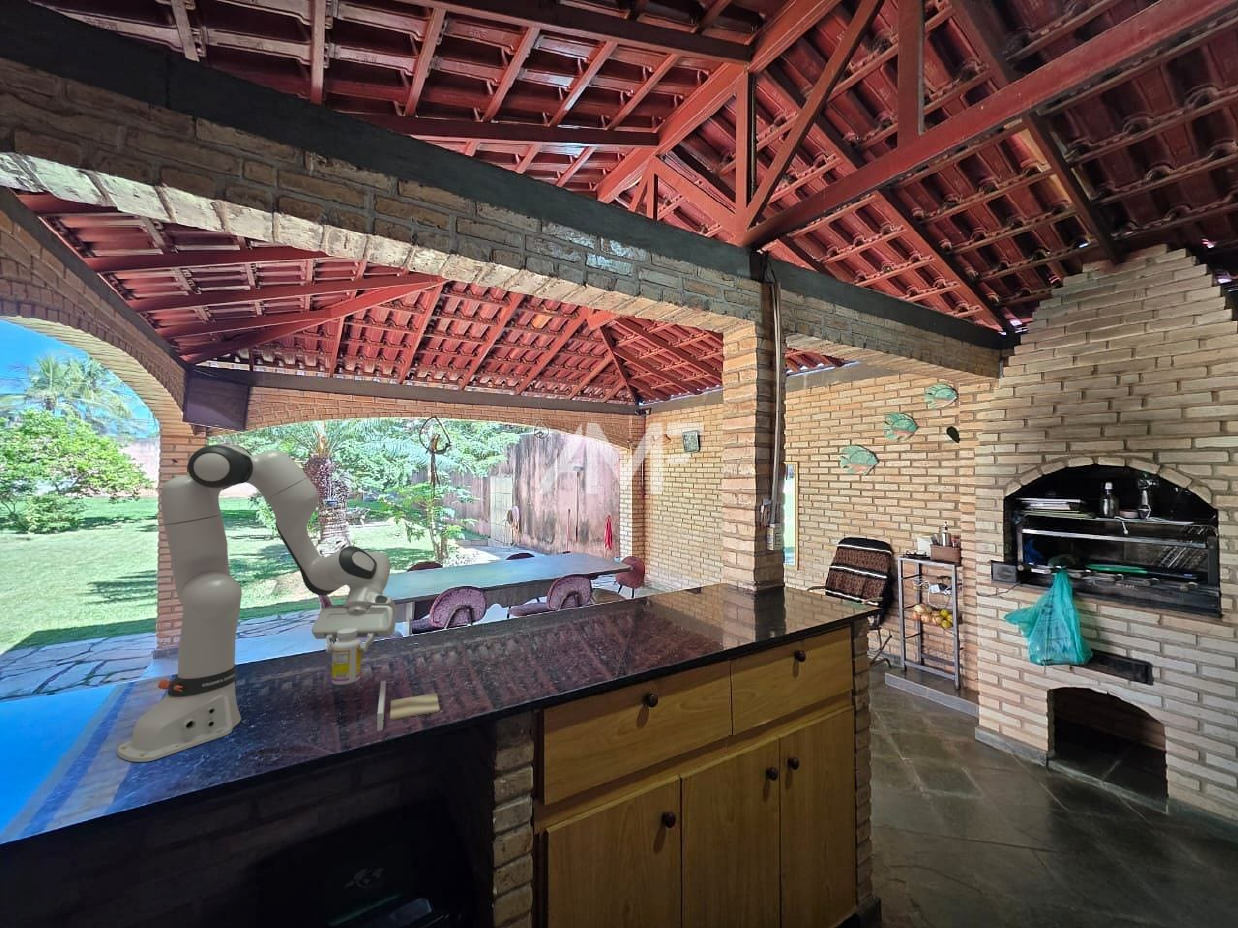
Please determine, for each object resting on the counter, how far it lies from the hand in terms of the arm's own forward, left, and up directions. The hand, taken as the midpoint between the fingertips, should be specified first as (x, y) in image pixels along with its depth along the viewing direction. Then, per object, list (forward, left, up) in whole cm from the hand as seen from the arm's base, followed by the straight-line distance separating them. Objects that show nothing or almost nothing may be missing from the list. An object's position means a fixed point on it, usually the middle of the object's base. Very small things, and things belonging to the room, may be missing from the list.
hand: (346, 651), depth 126 cm
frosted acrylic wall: (+7, -5, -18) cm, 20 cm away
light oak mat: (+13, -11, -18) cm, 24 cm away
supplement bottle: (0, 0, -8) cm, 8 cm away
